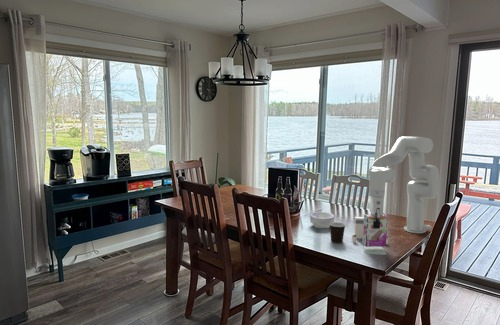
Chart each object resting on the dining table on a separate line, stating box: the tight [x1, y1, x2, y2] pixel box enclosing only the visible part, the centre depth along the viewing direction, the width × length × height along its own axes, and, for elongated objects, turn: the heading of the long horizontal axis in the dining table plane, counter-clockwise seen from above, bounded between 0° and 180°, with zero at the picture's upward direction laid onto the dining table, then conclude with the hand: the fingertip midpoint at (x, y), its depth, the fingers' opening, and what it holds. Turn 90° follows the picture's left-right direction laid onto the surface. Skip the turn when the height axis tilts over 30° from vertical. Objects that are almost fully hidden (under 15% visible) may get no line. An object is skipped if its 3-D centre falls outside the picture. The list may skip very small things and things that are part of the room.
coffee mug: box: [329, 221, 346, 244], centre depth 192 cm, size 12×9×10 cm
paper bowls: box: [309, 211, 335, 230], centre depth 221 cm, size 15×15×8 cm
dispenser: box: [351, 216, 389, 245], centre depth 195 cm, size 18×12×12 cm, turn 82°
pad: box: [362, 245, 387, 256], centre depth 180 cm, size 10×10×1 cm
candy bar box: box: [362, 213, 389, 247], centre depth 179 cm, size 11×5×16 cm, turn 93°
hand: (375, 226), depth 179 cm, fingers closed on candy bar box, 5 cm apart
